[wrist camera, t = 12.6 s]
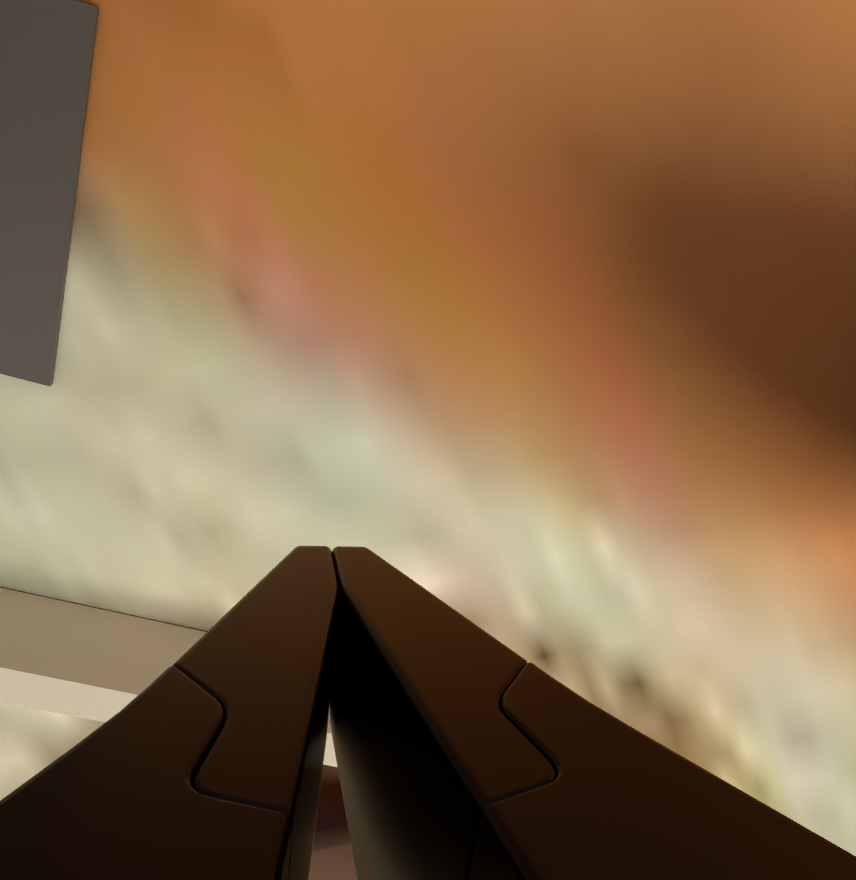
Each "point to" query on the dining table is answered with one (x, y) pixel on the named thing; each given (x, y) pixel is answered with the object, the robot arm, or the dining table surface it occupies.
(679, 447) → the dining table surface
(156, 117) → the dining table surface
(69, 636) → the trap box
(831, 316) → the dining table surface
